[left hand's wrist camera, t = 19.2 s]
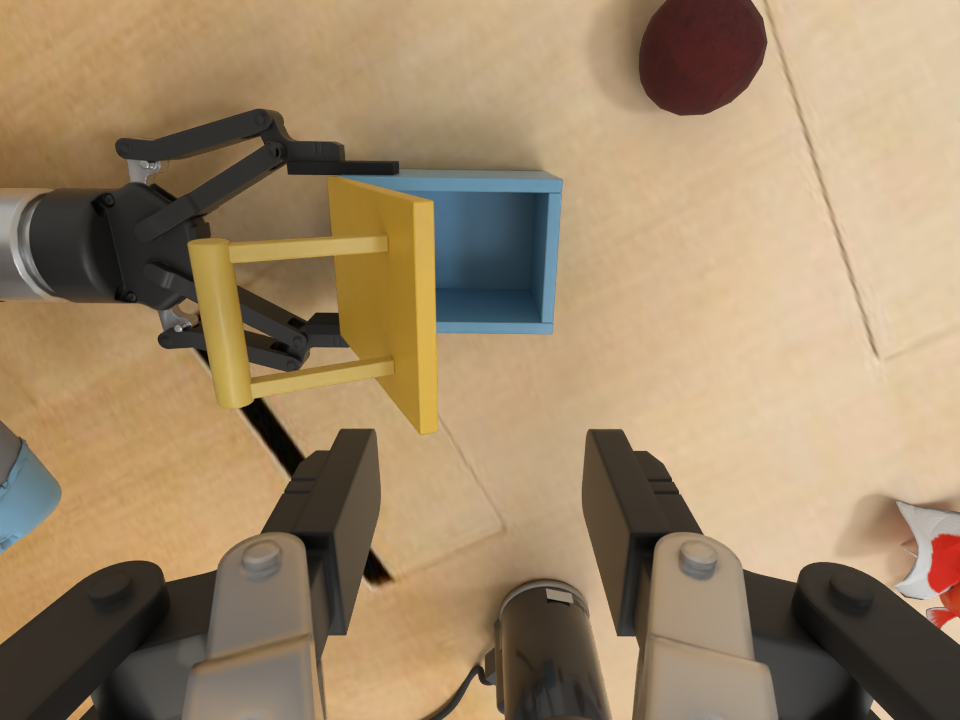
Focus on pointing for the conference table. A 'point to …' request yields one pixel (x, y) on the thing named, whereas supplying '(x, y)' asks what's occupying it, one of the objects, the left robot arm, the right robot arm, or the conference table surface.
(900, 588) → the fish
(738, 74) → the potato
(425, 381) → the lid
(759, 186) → the conference table surface
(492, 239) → the chest
